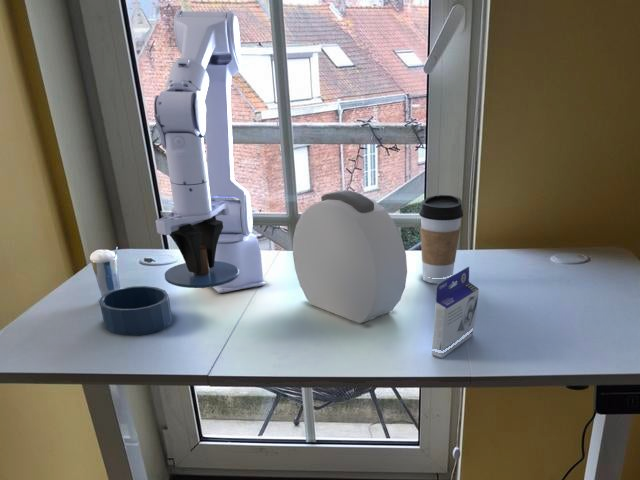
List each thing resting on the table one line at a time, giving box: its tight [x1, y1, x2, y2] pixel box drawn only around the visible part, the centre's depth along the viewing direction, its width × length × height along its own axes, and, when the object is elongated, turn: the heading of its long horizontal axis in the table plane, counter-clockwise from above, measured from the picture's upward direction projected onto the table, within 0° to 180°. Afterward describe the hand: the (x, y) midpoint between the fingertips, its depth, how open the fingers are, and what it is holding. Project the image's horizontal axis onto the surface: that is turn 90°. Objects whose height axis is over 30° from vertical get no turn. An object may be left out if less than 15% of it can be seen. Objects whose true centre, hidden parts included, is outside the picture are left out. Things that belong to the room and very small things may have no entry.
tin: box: [98, 285, 173, 336], centre depth 126 cm, size 11×11×4 cm
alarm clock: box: [292, 189, 408, 324], centre depth 128 cm, size 21×8×20 cm, turn 47°
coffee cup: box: [418, 194, 464, 285], centre depth 142 cm, size 8×8×15 cm
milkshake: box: [89, 246, 121, 297], centre depth 132 cm, size 4×5×10 cm
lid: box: [164, 245, 239, 289], centre depth 120 cm, size 12×12×5 cm
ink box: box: [431, 266, 480, 359], centre depth 118 cm, size 12×2×12 cm, turn 148°
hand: (201, 269), depth 121 cm, fingers closed on lid, 2 cm apart
